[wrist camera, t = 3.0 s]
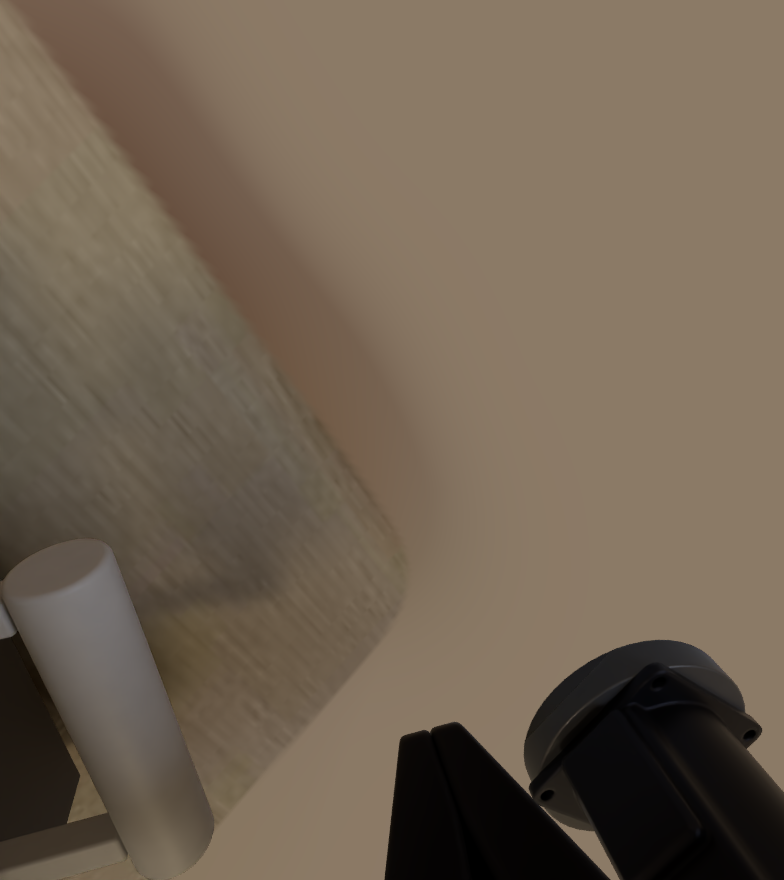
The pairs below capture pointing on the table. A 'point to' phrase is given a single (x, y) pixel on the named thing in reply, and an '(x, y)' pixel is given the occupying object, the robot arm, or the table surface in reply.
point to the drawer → (89, 727)
